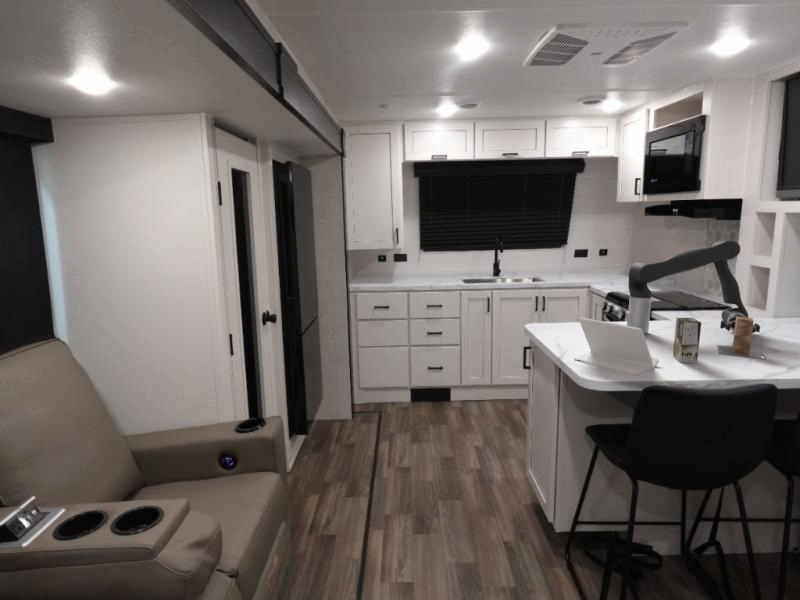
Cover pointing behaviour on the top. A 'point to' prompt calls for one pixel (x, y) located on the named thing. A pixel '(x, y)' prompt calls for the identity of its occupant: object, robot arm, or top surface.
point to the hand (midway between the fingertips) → (741, 329)
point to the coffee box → (686, 340)
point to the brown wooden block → (742, 335)
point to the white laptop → (616, 347)
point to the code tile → (728, 351)
